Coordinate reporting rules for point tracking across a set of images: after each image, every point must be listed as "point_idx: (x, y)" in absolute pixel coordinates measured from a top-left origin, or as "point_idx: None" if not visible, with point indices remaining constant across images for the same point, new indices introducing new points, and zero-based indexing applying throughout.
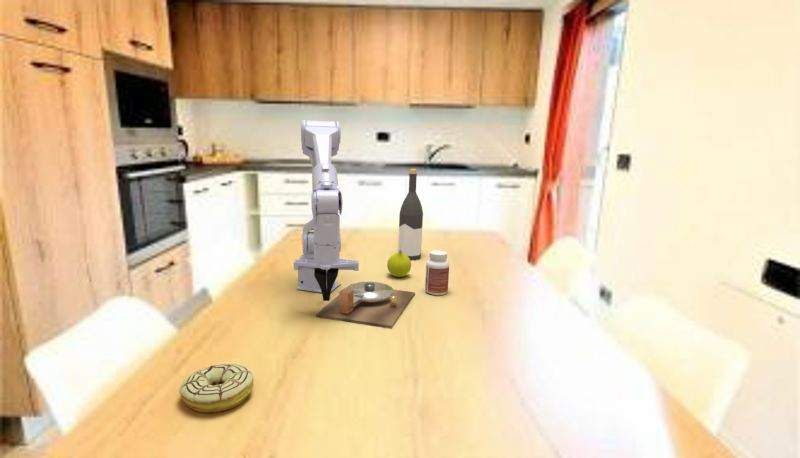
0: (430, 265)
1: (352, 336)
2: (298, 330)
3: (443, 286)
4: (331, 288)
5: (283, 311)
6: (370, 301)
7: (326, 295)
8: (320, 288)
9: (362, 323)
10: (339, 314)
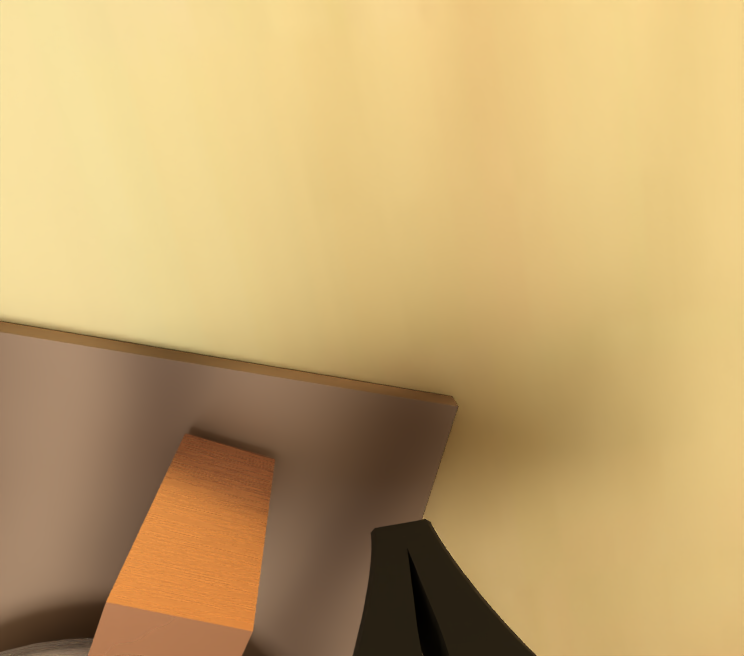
0: None
1: (29, 42)
2: (553, 126)
3: None
4: (356, 653)
5: (691, 444)
6: (24, 652)
7: (407, 563)
8: (505, 623)
9: (25, 328)
10: (266, 435)
